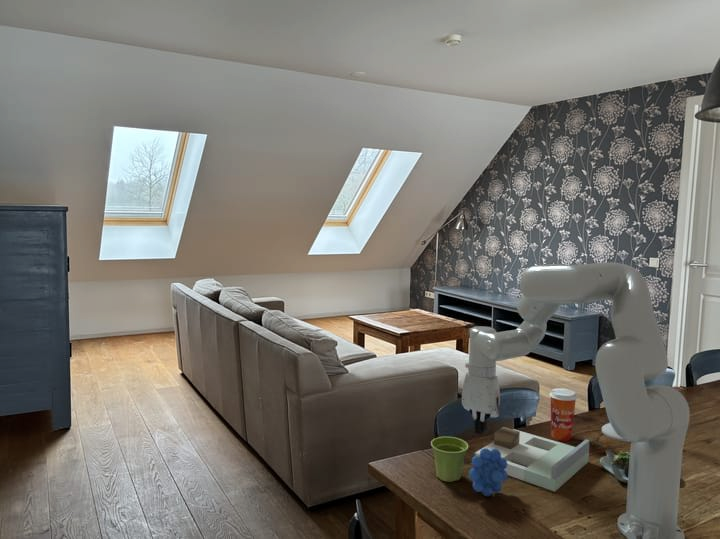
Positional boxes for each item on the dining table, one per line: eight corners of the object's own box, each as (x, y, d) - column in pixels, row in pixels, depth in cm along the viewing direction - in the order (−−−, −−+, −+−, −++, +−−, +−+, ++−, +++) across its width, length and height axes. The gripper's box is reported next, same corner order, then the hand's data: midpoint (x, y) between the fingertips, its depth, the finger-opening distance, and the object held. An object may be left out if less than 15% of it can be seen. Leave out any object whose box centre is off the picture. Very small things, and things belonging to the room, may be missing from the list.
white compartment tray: (554, 491, 135) (555, 467, 134) (474, 463, 150) (475, 441, 149) (588, 461, 151) (589, 440, 151) (513, 438, 166) (514, 419, 165)
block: (510, 449, 152) (511, 436, 151) (494, 444, 155) (494, 431, 155) (519, 443, 155) (519, 431, 155) (502, 438, 159) (503, 426, 158)
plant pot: (468, 470, 146) (469, 438, 145) (465, 488, 137) (466, 454, 136) (433, 466, 148) (433, 434, 147) (427, 482, 139) (428, 449, 138)
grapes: (481, 510, 126) (483, 459, 125) (462, 497, 132) (463, 448, 131) (519, 497, 132) (521, 449, 131) (498, 485, 138) (500, 438, 137)
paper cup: (548, 441, 165) (550, 394, 163) (546, 431, 172) (548, 386, 170) (577, 443, 163) (579, 397, 161) (573, 433, 170) (575, 388, 169)
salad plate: (580, 457, 154) (581, 441, 154) (637, 453, 158) (639, 437, 157) (625, 492, 135) (627, 474, 135) (690, 486, 139) (691, 469, 138)
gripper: (452, 368, 161) (450, 429, 163) (499, 378, 151) (497, 444, 153) (466, 362, 166) (464, 422, 168) (512, 373, 156) (510, 436, 158)
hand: (480, 432), depth 161 cm, fingers closed
